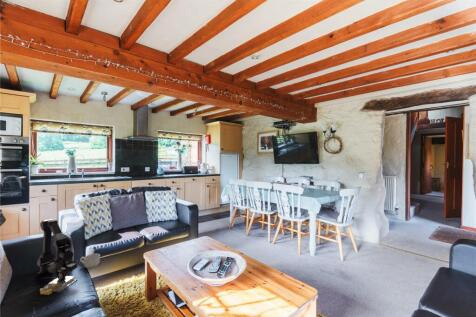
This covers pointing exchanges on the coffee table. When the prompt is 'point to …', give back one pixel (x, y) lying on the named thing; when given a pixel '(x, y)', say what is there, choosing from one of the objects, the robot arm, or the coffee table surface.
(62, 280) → the pin
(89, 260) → the teacup
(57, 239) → the robot arm
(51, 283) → the knob backplate
